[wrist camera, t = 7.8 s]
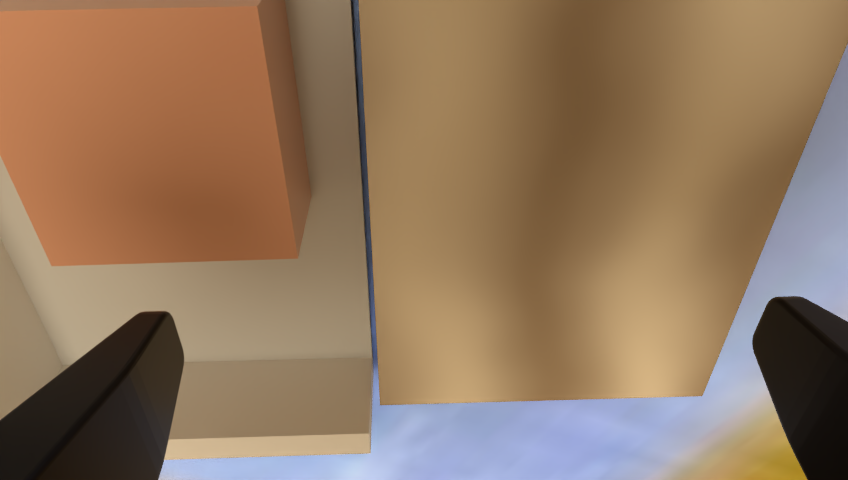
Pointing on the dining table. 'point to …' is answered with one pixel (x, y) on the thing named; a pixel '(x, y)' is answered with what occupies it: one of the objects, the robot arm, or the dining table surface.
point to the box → (230, 295)
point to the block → (154, 129)
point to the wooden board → (577, 185)
